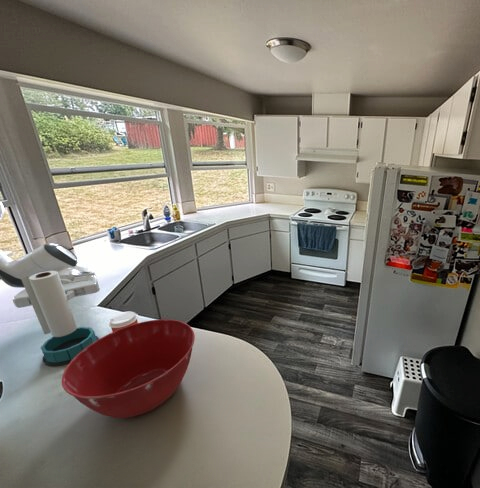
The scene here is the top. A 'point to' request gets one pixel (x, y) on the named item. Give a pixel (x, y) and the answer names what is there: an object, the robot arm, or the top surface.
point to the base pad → (67, 346)
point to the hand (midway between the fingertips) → (53, 302)
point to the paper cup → (123, 320)
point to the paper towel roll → (50, 303)
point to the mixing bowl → (131, 368)
